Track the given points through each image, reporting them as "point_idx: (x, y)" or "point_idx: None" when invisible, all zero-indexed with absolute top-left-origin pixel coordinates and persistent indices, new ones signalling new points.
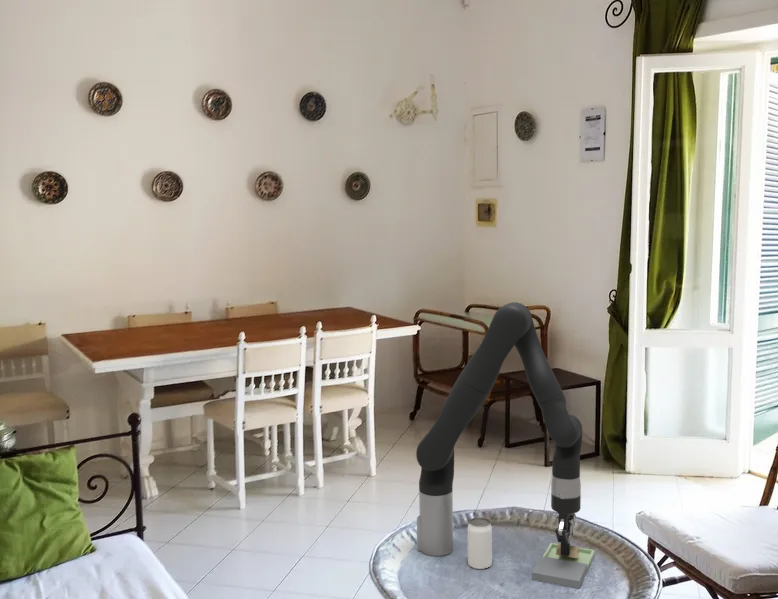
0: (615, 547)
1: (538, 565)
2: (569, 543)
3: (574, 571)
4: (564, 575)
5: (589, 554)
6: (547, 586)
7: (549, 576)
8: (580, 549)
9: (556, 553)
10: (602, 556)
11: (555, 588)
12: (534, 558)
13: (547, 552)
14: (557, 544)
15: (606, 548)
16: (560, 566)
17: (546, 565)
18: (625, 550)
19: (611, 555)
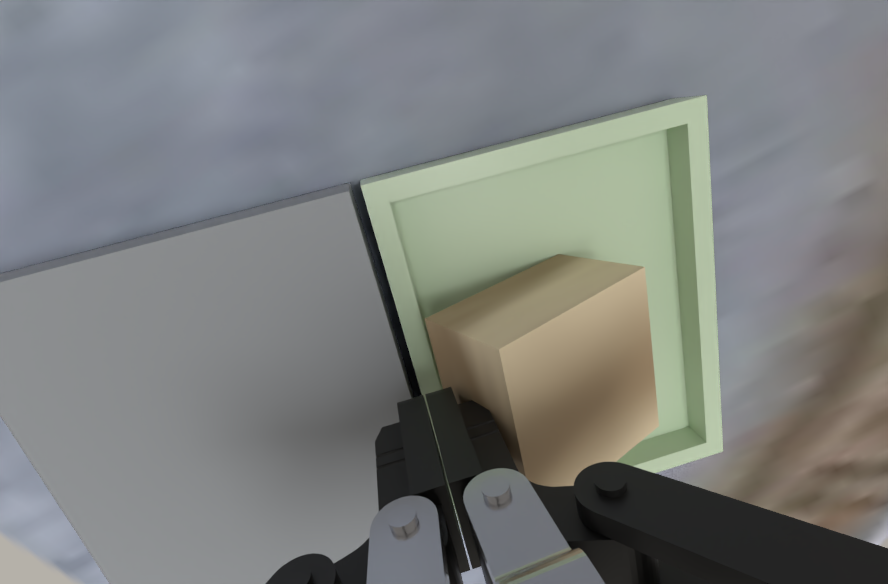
0: (858, 461)
1: (127, 274)
2: (458, 560)
3: (274, 551)
4: (146, 537)
5: (678, 416)
6: (8, 432)
7: (34, 452)
8: (698, 363)
9: (431, 326)
10: (705, 467)
11: (36, 488)
12: (394, 71)
13: (493, 174)
14: (489, 349)
15: (826, 430)
16: (271, 435)
17: (191, 335)
18: (837, 517)
19: (741, 496)
